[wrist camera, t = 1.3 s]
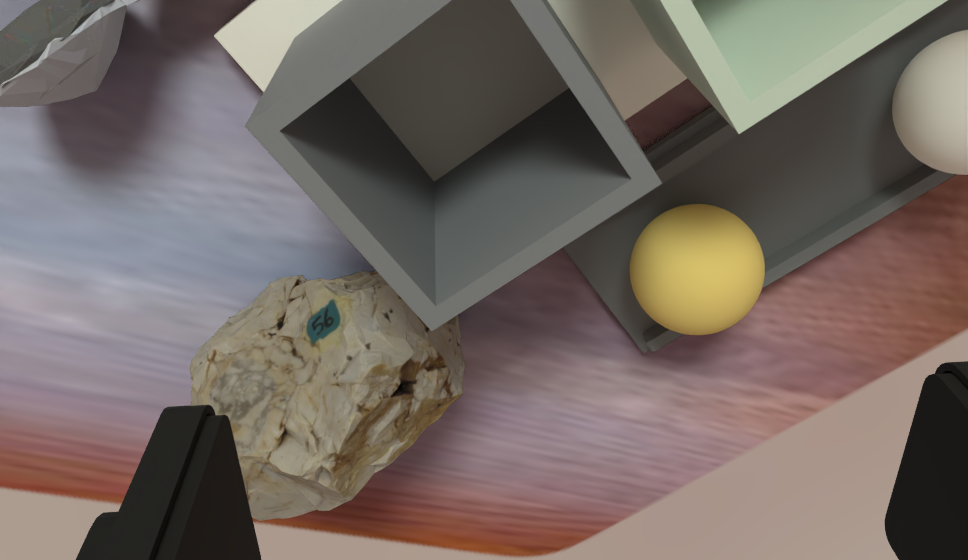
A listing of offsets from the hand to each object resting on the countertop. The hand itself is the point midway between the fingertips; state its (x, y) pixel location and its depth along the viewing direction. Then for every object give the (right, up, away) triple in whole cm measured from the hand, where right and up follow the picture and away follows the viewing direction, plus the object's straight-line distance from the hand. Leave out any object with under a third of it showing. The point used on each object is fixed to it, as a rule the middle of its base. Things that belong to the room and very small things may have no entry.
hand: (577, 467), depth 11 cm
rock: (-9, 0, +25) cm, 27 cm away
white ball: (+16, +10, +20) cm, 27 cm away
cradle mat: (+11, +7, +22) cm, 26 cm away
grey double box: (+2, +13, +18) cm, 22 cm away
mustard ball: (+7, +4, +23) cm, 24 cm away
